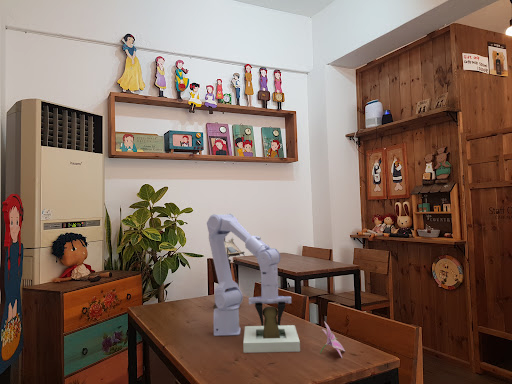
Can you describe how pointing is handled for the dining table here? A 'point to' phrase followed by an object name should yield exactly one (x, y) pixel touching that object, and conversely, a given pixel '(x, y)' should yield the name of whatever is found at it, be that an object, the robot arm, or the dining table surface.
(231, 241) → the bird statue
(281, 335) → the slot box
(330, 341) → the lily
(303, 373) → the dining table surface
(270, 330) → the cork
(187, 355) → the dining table surface
